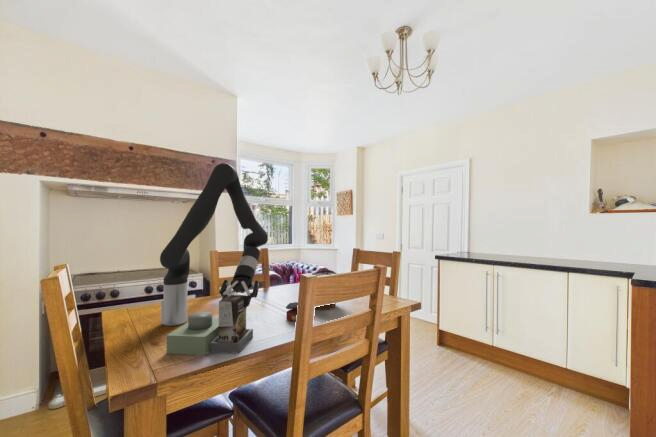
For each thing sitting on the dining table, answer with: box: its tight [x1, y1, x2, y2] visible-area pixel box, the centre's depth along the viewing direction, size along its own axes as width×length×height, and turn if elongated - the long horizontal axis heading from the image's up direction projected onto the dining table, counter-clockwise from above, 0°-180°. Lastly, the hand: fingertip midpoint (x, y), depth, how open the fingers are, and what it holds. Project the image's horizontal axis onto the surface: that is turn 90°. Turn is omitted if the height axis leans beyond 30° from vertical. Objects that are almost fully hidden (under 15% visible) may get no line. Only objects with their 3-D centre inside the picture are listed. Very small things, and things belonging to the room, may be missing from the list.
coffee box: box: [218, 294, 247, 343], centre depth 103 cm, size 9×6×16 cm
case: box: [311, 269, 338, 311], centre depth 147 cm, size 18×20×18 cm
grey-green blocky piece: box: [166, 311, 254, 356], centre depth 103 cm, size 24×18×10 cm
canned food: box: [285, 301, 299, 323], centre depth 130 cm, size 11×10×10 cm
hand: (234, 306), depth 104 cm, fingers open, 8 cm apart
